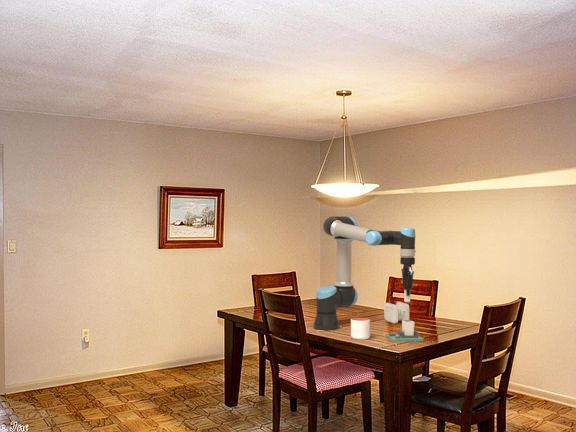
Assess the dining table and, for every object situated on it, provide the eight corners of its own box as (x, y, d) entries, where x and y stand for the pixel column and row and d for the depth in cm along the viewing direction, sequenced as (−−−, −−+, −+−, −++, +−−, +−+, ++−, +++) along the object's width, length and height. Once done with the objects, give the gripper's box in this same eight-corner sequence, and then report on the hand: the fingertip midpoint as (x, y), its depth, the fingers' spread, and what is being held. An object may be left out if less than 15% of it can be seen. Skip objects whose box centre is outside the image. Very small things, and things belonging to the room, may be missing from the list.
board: (393, 341, 285) (393, 333, 285) (385, 336, 299) (385, 328, 299) (423, 341, 287) (423, 332, 287) (414, 335, 301) (414, 327, 301)
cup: (368, 336, 299) (368, 317, 299) (371, 340, 289) (371, 320, 289) (349, 336, 299) (349, 317, 299) (352, 340, 289) (352, 321, 289)
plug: (404, 337, 291) (404, 321, 291) (402, 335, 295) (402, 319, 295) (415, 337, 291) (415, 321, 291) (412, 335, 295) (412, 319, 295)
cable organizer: (410, 324, 336) (410, 304, 336) (394, 324, 333) (394, 305, 333) (398, 319, 350) (398, 301, 351) (383, 320, 347) (383, 302, 348)
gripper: (418, 257, 288) (418, 303, 288) (410, 256, 300) (410, 299, 301) (404, 257, 287) (404, 303, 287) (396, 255, 300) (396, 299, 300)
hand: (407, 301), depth 294 cm, fingers closed
